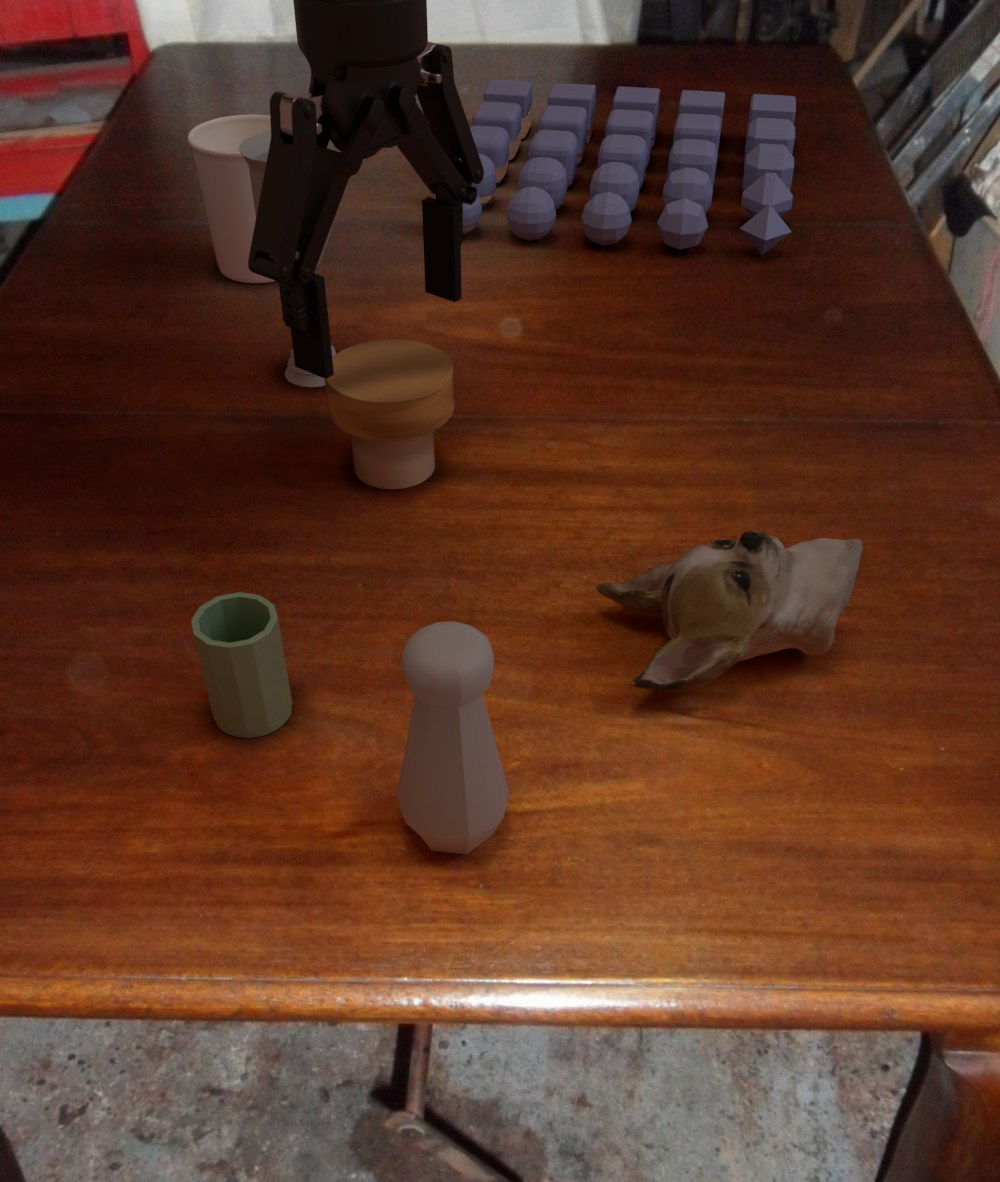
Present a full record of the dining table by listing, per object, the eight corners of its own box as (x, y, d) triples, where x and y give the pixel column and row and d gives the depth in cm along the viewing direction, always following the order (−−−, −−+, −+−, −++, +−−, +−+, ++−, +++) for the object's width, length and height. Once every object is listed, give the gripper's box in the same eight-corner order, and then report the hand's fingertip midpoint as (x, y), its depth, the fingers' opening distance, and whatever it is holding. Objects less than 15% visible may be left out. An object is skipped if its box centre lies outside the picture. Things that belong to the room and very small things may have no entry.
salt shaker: (382, 849, 62) (361, 665, 53) (425, 774, 66) (413, 590, 57) (485, 880, 61) (482, 697, 52) (524, 802, 65) (527, 618, 56)
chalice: (314, 343, 102) (287, 121, 90) (374, 365, 100) (356, 139, 87) (254, 378, 98) (218, 149, 86) (316, 402, 95) (287, 169, 83)
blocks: (788, 141, 137) (796, 95, 134) (787, 268, 113) (796, 215, 110) (491, 123, 142) (491, 78, 138) (428, 241, 118) (426, 190, 114)
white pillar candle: (347, 452, 90) (340, 393, 86) (423, 440, 91) (420, 381, 88) (363, 495, 86) (357, 434, 82) (444, 482, 87) (441, 421, 84)
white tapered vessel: (332, 271, 113) (318, 137, 104) (237, 297, 109) (215, 160, 100) (285, 236, 119) (268, 107, 110) (193, 259, 115) (169, 127, 106)
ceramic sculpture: (903, 572, 65) (635, 614, 64) (878, 688, 71) (633, 728, 70) (833, 468, 72) (592, 504, 71) (816, 581, 78) (593, 615, 77)
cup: (208, 692, 71) (187, 601, 66) (285, 677, 72) (269, 586, 67) (218, 745, 68) (196, 653, 63) (298, 728, 69) (283, 636, 64)
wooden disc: (317, 386, 87) (313, 348, 85) (436, 369, 89) (434, 331, 87) (342, 449, 81) (338, 410, 79) (469, 429, 83) (468, 390, 81)
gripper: (247, 38, 57) (297, 425, 72) (541, -59, 72) (531, 281, 87) (141, 11, 61) (210, 388, 75) (443, -77, 75) (450, 254, 90)
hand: (382, 331), depth 81 cm, fingers open, 13 cm apart
